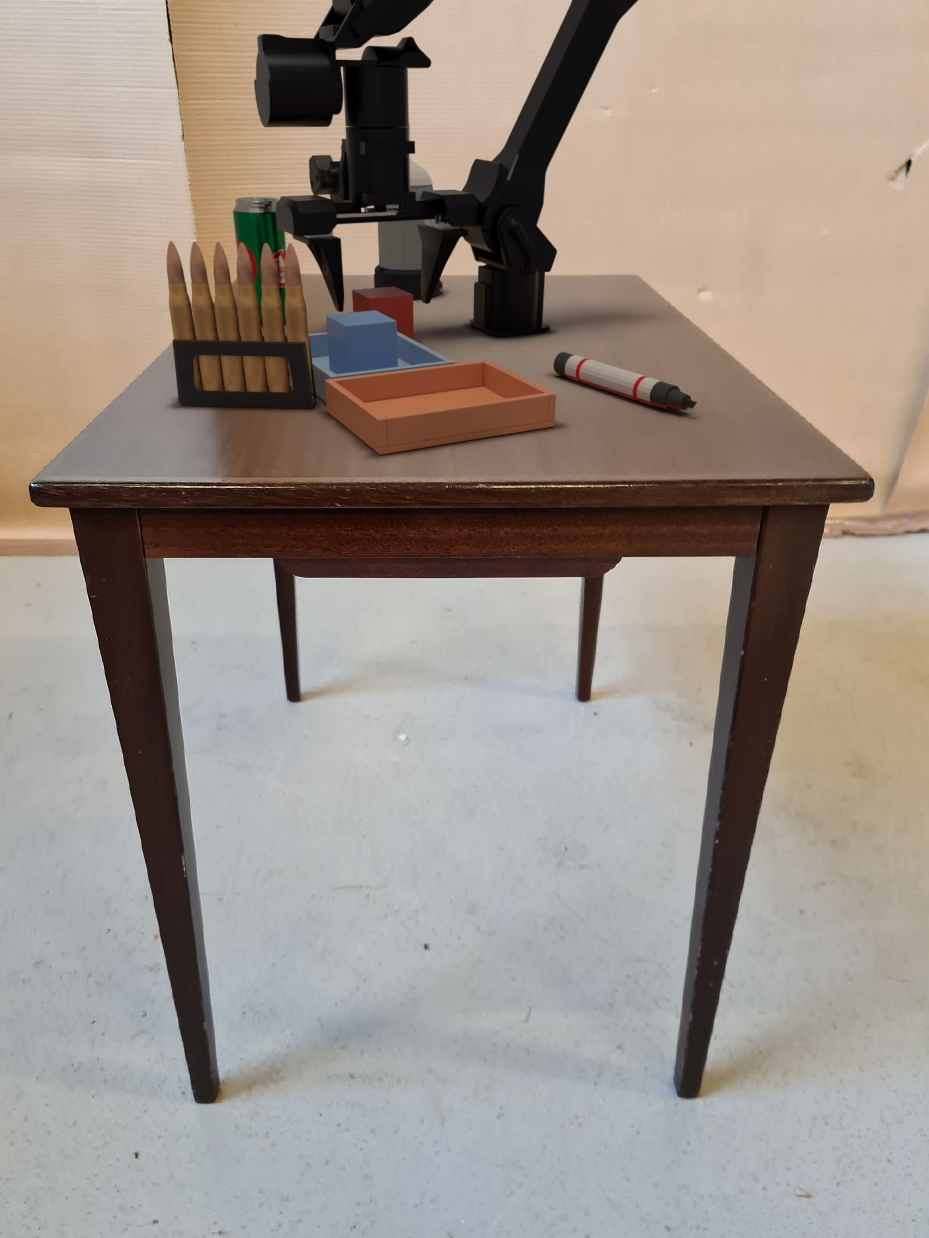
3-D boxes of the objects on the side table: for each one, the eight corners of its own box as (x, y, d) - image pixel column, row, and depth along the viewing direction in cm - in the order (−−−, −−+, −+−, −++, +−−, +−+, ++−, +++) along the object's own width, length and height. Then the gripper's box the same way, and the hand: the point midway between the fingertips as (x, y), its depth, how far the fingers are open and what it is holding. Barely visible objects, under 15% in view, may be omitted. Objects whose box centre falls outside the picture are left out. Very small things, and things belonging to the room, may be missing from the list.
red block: (395, 333, 93) (394, 286, 91) (414, 342, 90) (413, 294, 87) (354, 337, 91) (351, 290, 89) (371, 347, 88) (369, 298, 86)
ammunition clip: (178, 405, 71) (153, 243, 65) (185, 398, 73) (162, 239, 67) (313, 408, 71) (300, 245, 65) (317, 401, 73) (305, 241, 66)
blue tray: (388, 352, 86) (387, 326, 85) (455, 391, 75) (455, 361, 74) (278, 365, 82) (276, 337, 81) (332, 408, 71) (330, 376, 70)
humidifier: (454, 293, 112) (455, 55, 99) (407, 302, 106) (402, 53, 94) (407, 284, 116) (402, 56, 104) (360, 293, 111) (349, 54, 98)
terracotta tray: (486, 389, 76) (486, 359, 75) (554, 426, 68) (556, 393, 66) (326, 411, 70) (324, 379, 69) (379, 455, 62) (378, 419, 61)
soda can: (282, 327, 95) (271, 202, 89) (237, 324, 96) (222, 201, 89) (299, 317, 99) (289, 197, 93) (255, 314, 100) (243, 195, 94)
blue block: (377, 363, 81) (375, 310, 79) (398, 375, 77) (396, 320, 75) (329, 368, 79) (325, 314, 77) (348, 382, 76) (344, 326, 73)
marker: (552, 376, 80) (553, 353, 79) (568, 372, 81) (570, 350, 80) (686, 420, 69) (690, 395, 68) (703, 416, 70) (707, 391, 69)
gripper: (432, 123, 91) (433, 286, 99) (250, 125, 83) (267, 300, 91) (484, 128, 82) (481, 305, 90) (287, 129, 75) (302, 322, 83)
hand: (383, 307), depth 89 cm, fingers open, 9 cm apart
